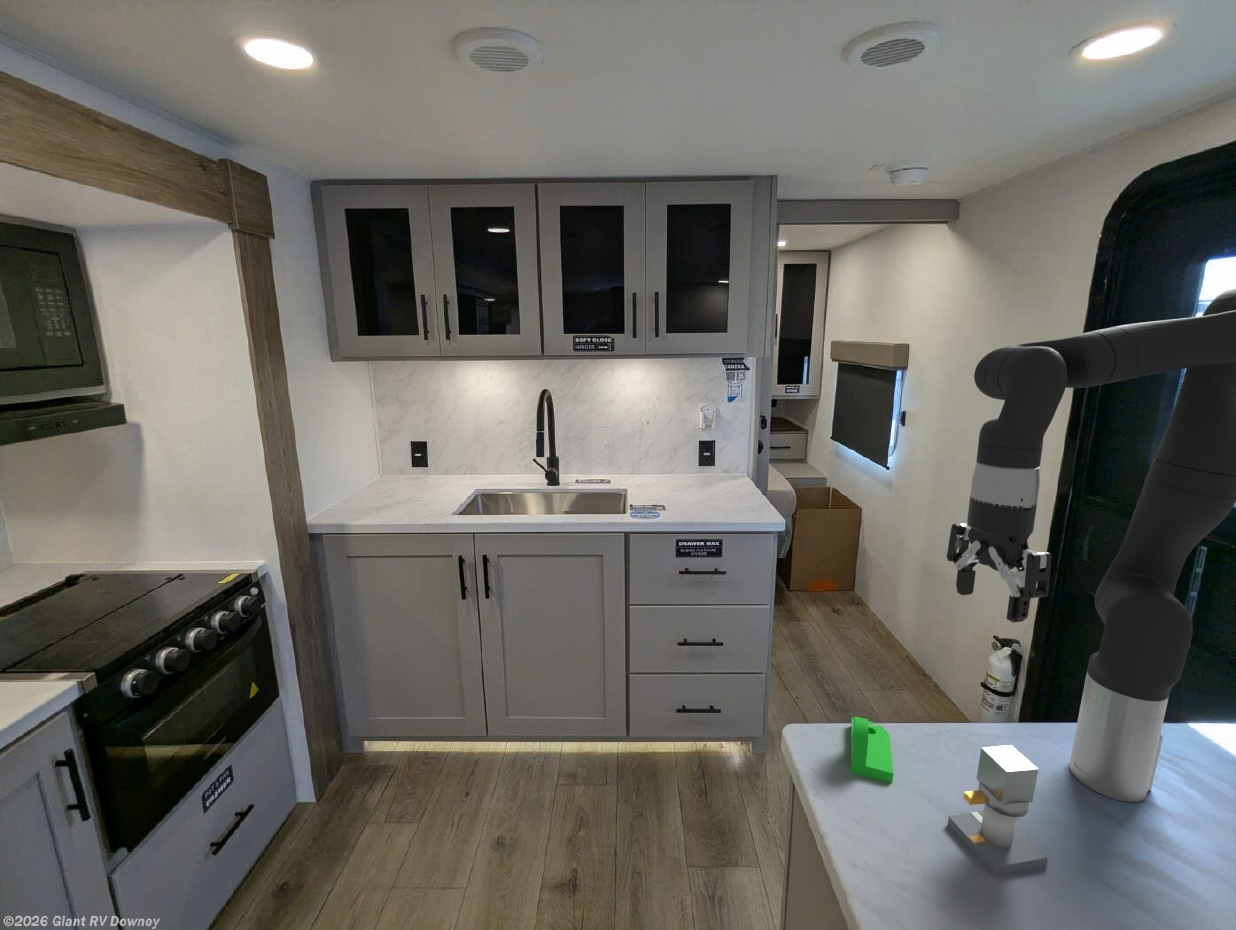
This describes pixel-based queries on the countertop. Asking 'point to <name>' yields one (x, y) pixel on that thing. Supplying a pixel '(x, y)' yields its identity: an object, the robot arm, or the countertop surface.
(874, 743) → the mechanical part
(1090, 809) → the countertop surface
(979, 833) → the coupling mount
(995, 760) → the collar
